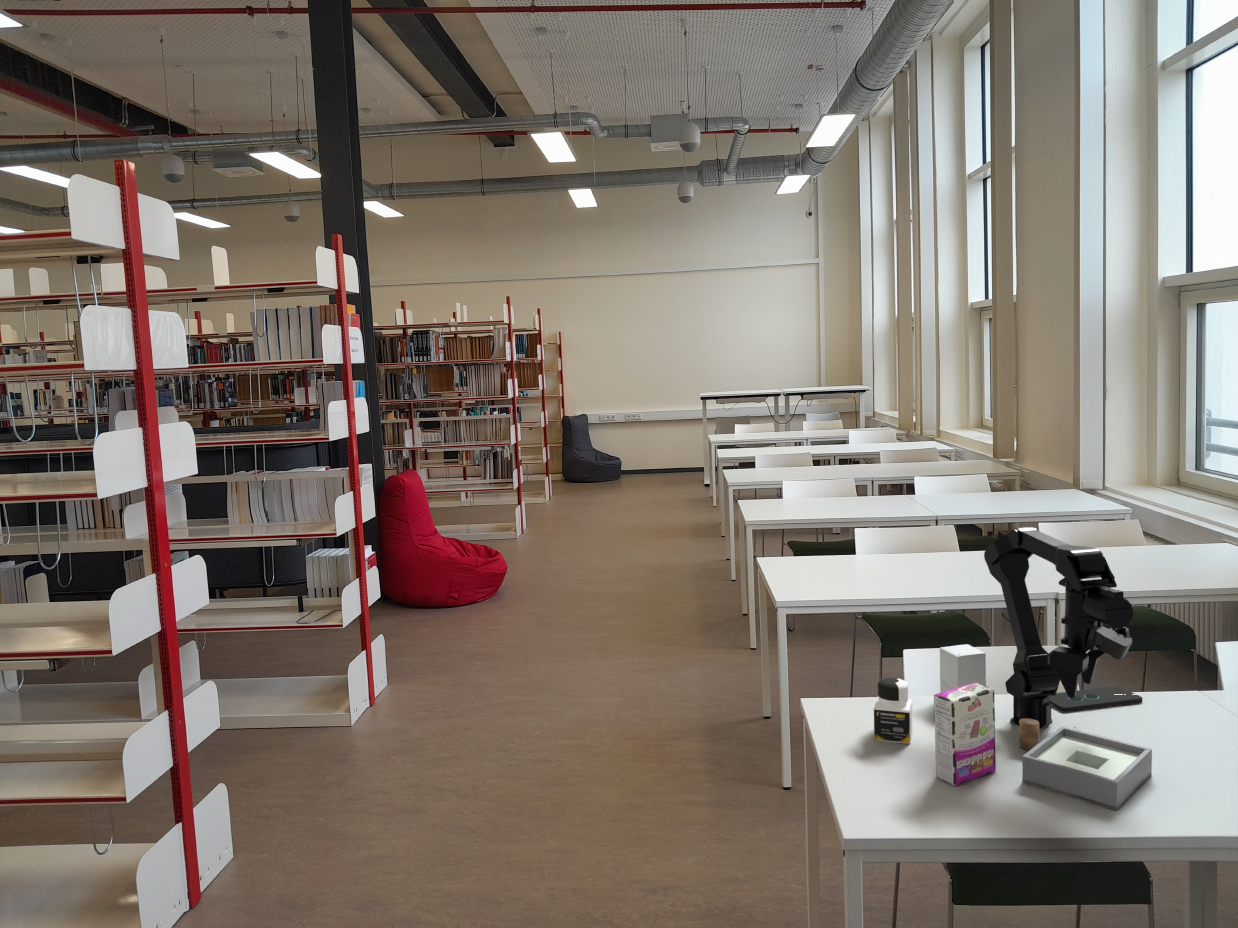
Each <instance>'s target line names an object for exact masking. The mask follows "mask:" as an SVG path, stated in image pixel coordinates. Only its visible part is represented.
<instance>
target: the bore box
mask: <svg viewBox="0 0 1238 928" xmlns="http://www.w3.org/2000/svg"><path fill="white" fill-rule="evenodd" d="M1021 757H1022V768H1021V769H1022V775H1021V777H1022V779H1021V780H1022V781H1021V782H1022V783H1024V784H1028V785H1031V786H1034V787H1039V788H1040V789H1044V790H1047V791H1051V792H1054V793H1057V794H1060V795H1064V796H1067V797H1070V798H1074V799H1077V800H1080V801H1083V802H1086V803H1091V804H1094V805H1097V806H1100V807H1103V808H1106V809H1110V810H1113V811H1119V809H1120V808H1121V807H1122V806H1124V804H1125V803H1126V802H1127V801H1128V800H1129V799H1130V798H1131V797H1132V796H1133V795H1134V794H1135V793H1136V792H1137V791H1138V790H1139V789H1140V787H1141V786H1143V784H1145V782H1146V781H1147V780H1148V779H1149V778H1150V777H1152V768H1153V767H1152V765H1153V761H1152V760H1153V749H1152V748H1149V747H1145V746H1141V745H1138V744H1133V743H1129V742H1127V741H1126V742H1125V741H1123V740H1117V739H1113V738H1109V737H1106V736H1102V735H1097V734H1094V733H1090V732H1086V731H1082V730H1078V729H1074V728H1070V727H1067V726H1059V727H1058V728H1057V729H1056V730H1054V731H1053V732H1051V734H1049V735H1048V736H1047V737H1045V738H1043V740H1042V741H1039V744H1037V745H1036V746H1035V747H1034V748H1032V749H1031V750H1030V751H1028V752H1026V753H1025V754H1023V755H1022V756H1021Z"/></svg>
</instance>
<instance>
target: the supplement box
mask: <svg viewBox="0 0 1238 928" xmlns="http://www.w3.org/2000/svg"><path fill="white" fill-rule="evenodd" d="M986 654H987V653H986V652H984V651H982V650H980V649H978V648H976V647H974V646H972V645H971V644H967V643H966V644H957V645H951V646H942V647H939V681H940V682H939V687H940V689H939V693H941V692H944V691H948V690H951V689H954V688H957V687H961V686H964V685H967V684H971V683H974V682H975V683H980V684H981V685H985V686H987V672H986V671H987V670H986V669H987V667H986V663H987V662H986V659H987V658H986V657H987V656H986Z"/></svg>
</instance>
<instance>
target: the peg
mask: <svg viewBox="0 0 1238 928" xmlns="http://www.w3.org/2000/svg"><path fill="white" fill-rule="evenodd" d="M1018 725H1019V726H1018V727H1019V729H1018V730H1019V731H1018V733H1019V735H1018V737H1019V738H1018V739H1019V740H1018V742H1019V743H1018V747H1019V749H1020V750H1021V751H1024V752H1026V753H1027V752H1028V751H1030V750H1031V749H1032V748H1034V747H1035V746H1036V745H1037V744H1039V743H1040V730H1039V722H1038V721H1037V720H1034V719H1029V718H1024V719H1020V720H1019V724H1018Z"/></svg>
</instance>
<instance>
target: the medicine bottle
mask: <svg viewBox="0 0 1238 928" xmlns="http://www.w3.org/2000/svg"><path fill="white" fill-rule="evenodd" d="M873 733H874V734H873V738H874V740H875V741H878V742H888V743H897V744H905V745H910V744H911V740H912V734H913V700H912V698H909V684H908V683H907V681H905V680H904V679H901V678H898V677H885V678H882V679H879V681H878V682H877V697H876V699H875V703H874V707H873Z"/></svg>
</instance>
